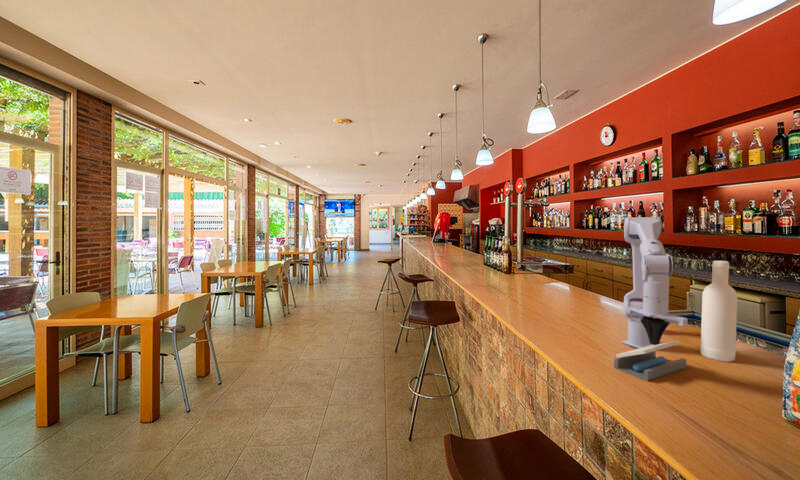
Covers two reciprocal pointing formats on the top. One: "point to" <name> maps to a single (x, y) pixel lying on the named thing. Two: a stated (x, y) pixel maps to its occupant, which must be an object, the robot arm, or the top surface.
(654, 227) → the robot arm
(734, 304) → the bottle
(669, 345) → the panel
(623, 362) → the cable duct
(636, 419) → the top surface
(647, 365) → the blue rounded capsule rod
